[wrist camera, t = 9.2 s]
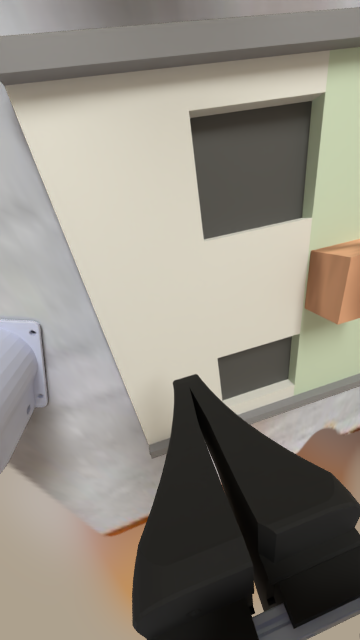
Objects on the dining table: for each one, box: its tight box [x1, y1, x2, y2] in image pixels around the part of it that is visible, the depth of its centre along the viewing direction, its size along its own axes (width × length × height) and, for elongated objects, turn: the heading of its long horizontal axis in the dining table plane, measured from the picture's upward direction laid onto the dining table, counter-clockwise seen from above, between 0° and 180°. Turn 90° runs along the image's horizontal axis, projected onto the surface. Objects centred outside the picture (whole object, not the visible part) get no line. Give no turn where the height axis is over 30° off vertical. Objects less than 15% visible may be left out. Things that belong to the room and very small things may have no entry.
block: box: [305, 239, 360, 325], centre depth 20 cm, size 6×6×4 cm
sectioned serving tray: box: [0, 7, 360, 458], centre depth 21 cm, size 35×34×2 cm
